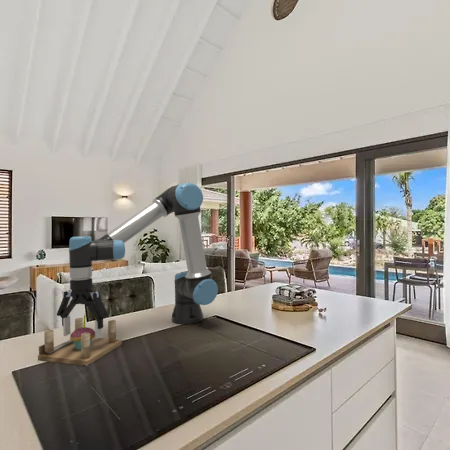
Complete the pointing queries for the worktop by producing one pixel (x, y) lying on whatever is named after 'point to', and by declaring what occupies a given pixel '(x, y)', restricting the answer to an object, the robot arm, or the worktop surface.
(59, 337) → the worktop surface
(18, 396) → the worktop surface
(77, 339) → the cupcake
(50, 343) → the gray bar with post
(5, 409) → the worktop surface
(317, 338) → the worktop surface
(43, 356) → the wooden peg board
